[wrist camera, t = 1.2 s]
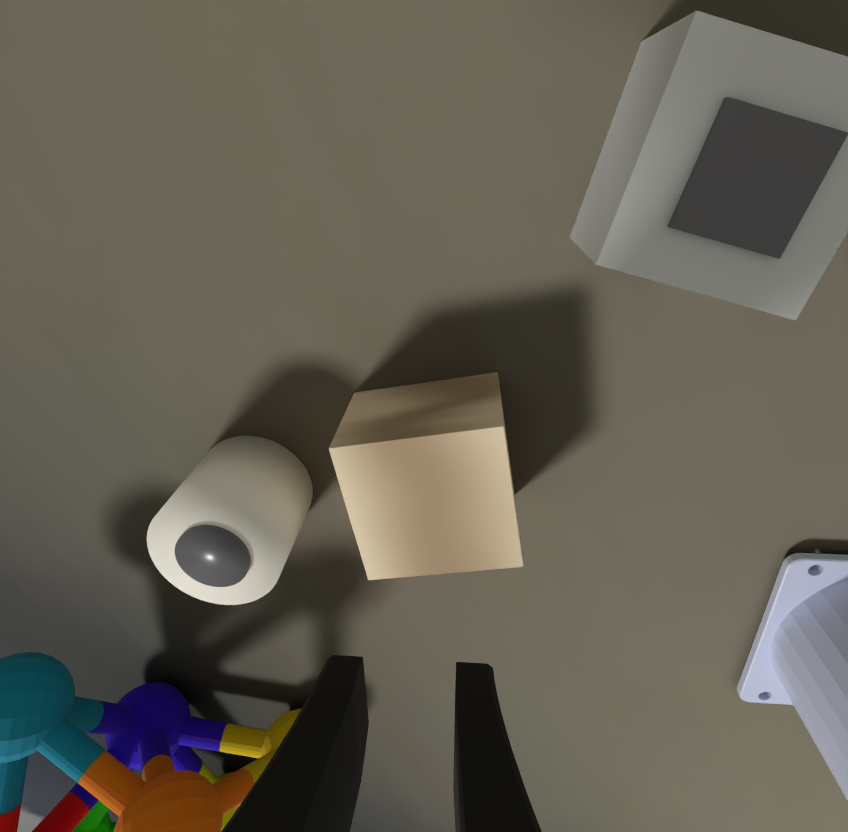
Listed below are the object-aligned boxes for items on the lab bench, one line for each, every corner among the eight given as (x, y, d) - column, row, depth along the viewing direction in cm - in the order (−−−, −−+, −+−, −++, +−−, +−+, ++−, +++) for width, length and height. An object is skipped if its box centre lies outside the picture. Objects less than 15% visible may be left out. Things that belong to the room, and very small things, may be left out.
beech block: (497, 370, 19) (503, 426, 15) (514, 492, 21) (523, 566, 17) (355, 390, 19) (328, 448, 16) (385, 506, 22) (368, 580, 18)
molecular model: (347, 599, 28) (-20, 602, 21) (404, 806, 21) (-121, 928, 14) (262, 752, 35) (-39, 797, 27) (284, 948, 28) (-113, 1083, 20)
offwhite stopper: (306, 436, 20) (269, 504, 16) (318, 532, 22) (287, 612, 18) (190, 433, 21) (128, 500, 17) (212, 528, 23) (160, 606, 19)
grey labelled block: (821, 96, 14) (943, 82, 11) (726, 281, 17) (800, 322, 13) (640, 42, 14) (700, 8, 10) (569, 236, 16) (597, 266, 13)
